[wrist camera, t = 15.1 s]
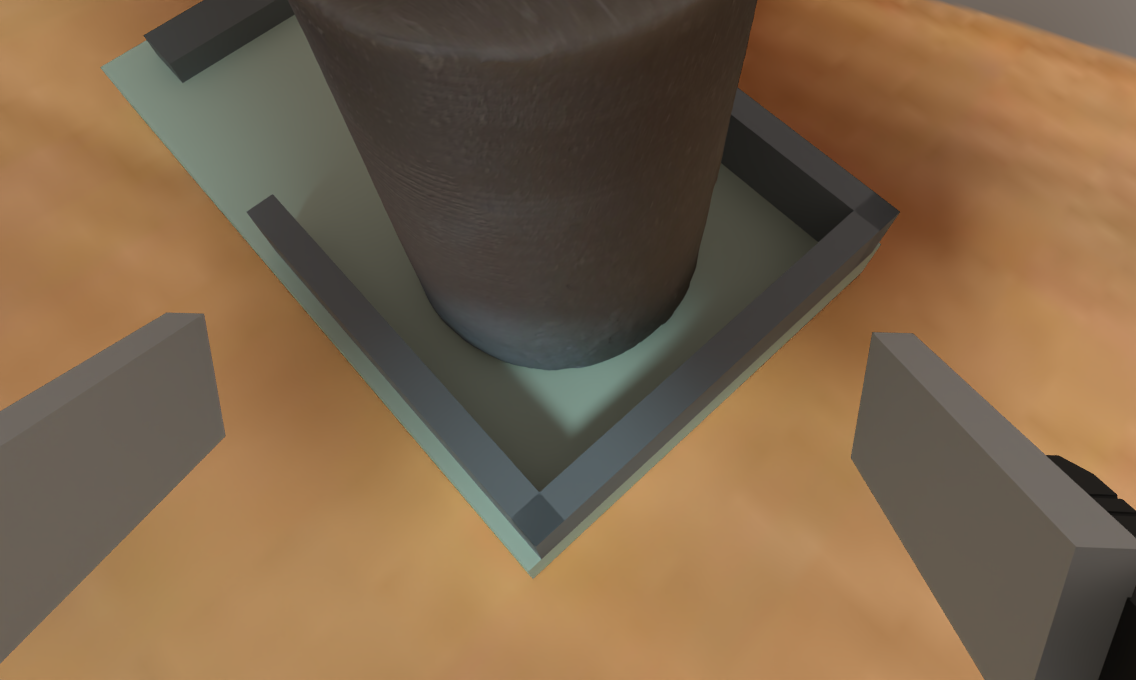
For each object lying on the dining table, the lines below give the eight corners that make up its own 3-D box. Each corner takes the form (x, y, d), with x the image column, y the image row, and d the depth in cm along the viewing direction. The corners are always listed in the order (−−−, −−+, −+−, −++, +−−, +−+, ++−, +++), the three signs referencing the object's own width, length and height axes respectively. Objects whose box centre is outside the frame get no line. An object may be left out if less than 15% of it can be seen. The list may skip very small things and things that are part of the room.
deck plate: (128, 102, 31) (59, 17, 27) (428, -80, 35) (406, -178, 31) (532, 579, 23) (520, 560, 19) (861, 272, 27) (910, 202, 23)
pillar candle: (663, 116, 28) (726, -420, 14) (725, 352, 24) (897, -74, 10) (405, 154, 28) (214, -355, 14) (425, 399, 24) (185, 27, 10)
